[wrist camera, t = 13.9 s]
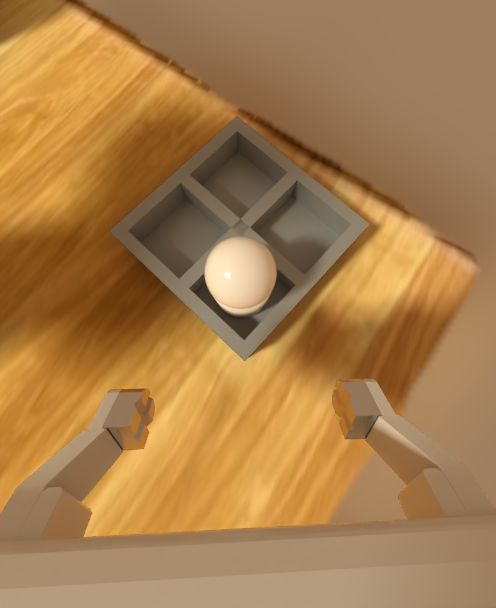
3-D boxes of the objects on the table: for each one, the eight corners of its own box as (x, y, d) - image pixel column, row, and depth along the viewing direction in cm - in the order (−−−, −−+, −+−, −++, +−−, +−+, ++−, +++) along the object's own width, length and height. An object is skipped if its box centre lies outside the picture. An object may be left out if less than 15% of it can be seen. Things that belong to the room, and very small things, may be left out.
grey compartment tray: (127, 246, 25) (108, 231, 21) (238, 144, 27) (236, 115, 23) (244, 359, 23) (244, 362, 19) (353, 240, 25) (370, 224, 21)
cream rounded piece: (205, 294, 23) (180, 262, 14) (240, 258, 23) (238, 206, 15) (243, 329, 22) (241, 320, 13) (278, 291, 23) (299, 259, 14)
